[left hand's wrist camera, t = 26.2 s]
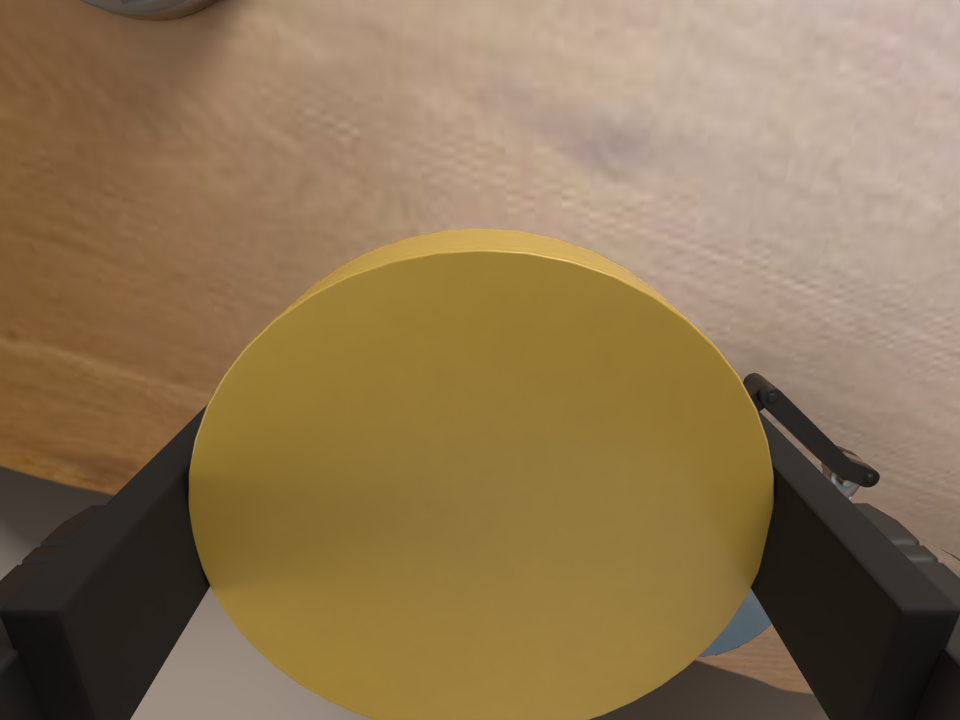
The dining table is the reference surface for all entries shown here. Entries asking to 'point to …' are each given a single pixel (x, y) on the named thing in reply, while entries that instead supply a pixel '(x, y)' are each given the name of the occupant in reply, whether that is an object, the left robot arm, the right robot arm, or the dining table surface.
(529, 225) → the dining table surface
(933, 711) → the left robot arm
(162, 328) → the dining table surface
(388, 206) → the dining table surface
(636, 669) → the lid
